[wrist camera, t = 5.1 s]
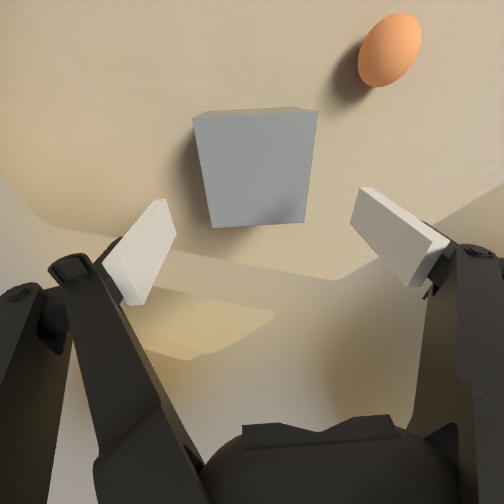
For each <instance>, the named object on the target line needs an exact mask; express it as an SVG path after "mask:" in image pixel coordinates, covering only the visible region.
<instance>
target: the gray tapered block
mask: <svg viewBox="0 0 504 504" xmlns="http://www.w3.org/2000/svg"><path fill="white" fill-rule="evenodd" d="M317 116H318V111H313V110H308V109H302V108H297V107H286V108H267V109H249V110H230V111H212V112H205V113H202V114H200V115H198V116H196V117H194V118H192V121H193V127H194V132H195V138H196V143H197V149H198V154H199V159H200V165H201V170H202V176H203V181H204V187H205V192H206V198H207V203H208V209H209V214H210V220H211V225H212V228H224V227H241V226H257V225H274V224H290V223H304V220H305V212H306V204H307V196H308V188H309V180H310V172H311V164H312V156H313V148H314V140H315V132H316V124H317Z"/></svg>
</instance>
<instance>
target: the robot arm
mask: <svg viewBox="0 0 504 504" xmlns="http://www.w3.org/2000/svg"><path fill="white" fill-rule="evenodd" d="M350 224H351V225H352V226H353V228H354V229H355V230H356V231H357V232H358V233H359V234H360V236H361V237H362V238H363V239H364V240H365V241H366V242H367V243H368V245H369V246H370V247H371V248H372V249H373V250H374V251H375V253H376V254H377V255H378V256H379V257H380V258H381V259H382V260H383V262H384V263H385V264H386V265H387V266H388V267H389V268H390V270H391V271H392V272H393V273H394V274H395V275H396V276H397V277H398V278H399V280H400V281H401V282H402V283H403V284H404V285H405V287H420V286H422V285H423V283H424V282H425V280H426V278H427V277H428V278H429V279H430V280H431V281H432V282H433V283H432V285H431V286H430V288H429V289H428V291H427V292H426V294H425V295H424V297H423V298H422V299H424V300H425V299H426V298H427V297H428V301H427V309H426V317H425V325H424V332H423V340H422V348H421V356H420V364H419V372H418V379H417V387H416V395H415V403H414V410H413V415H412V418H411V420H410V422H409V424H408V426H407V428H406V430H405V429H402V428H400V427H397V426H394V424H393V422H392V419H391V417H390V415H389V414H387V415H374V416H361V417H353V418H350V419H348V420H346V421H344V422H342V423H340V424H337V425H335V426H333V427H331V428H329V429H326V430H324V431H322V432H314V431H310V430H306V429H302V428H298V427H293V426H290V425H286V424H282V423H267V424H252V425H242V435H239V436H237V437H235V438H233V439H232V440H230V441H229V442H227V443H226V444H224V445H223V446H222V447H221V448H220V449H219V450H218V451H217V452H216V453H215V454H214V455H213V456H212V457H211V458H210V460H209V461H208V462H207V464H206V465H205V464H204V461H203V460H202V458H201V456H200V454H199V452H198V451H197V449H196V447H195V445H194V443H193V442H192V440H191V439H190V437H189V435H188V433H187V432H186V430H185V428H184V426H183V424H182V422H181V420H180V419H179V417H178V415H177V413H176V411H175V409H174V407H173V405H172V403H171V401H170V399H169V397H168V395H167V394H166V392H165V390H164V388H163V386H162V384H161V382H160V380H159V378H158V376H157V374H156V373H155V371H154V369H153V367H152V365H151V363H150V361H149V359H148V357H147V355H146V353H145V352H144V350H143V348H142V346H141V344H140V342H139V340H138V338H137V336H136V334H135V332H134V331H133V329H132V327H131V325H130V323H129V321H128V319H127V317H126V315H125V313H124V311H123V309H122V308H121V306H120V305H119V304H120V303H121V301H122V299H123V298H124V300H125V301H126V303H127V305H128V306H133V305H144V303H145V301H146V299H147V297H148V295H149V293H150V290H151V288H152V286H153V284H154V282H155V280H156V277H157V275H158V273H159V271H160V269H161V267H162V264H163V262H164V260H165V258H166V256H167V254H168V252H169V249H170V247H171V245H172V243H173V241H174V239H175V237H176V231H175V227H174V224H173V221H172V218H171V214H170V211H169V208H168V204H167V201H166V199H160V200H154V201H153V202H152V203H151V205H150V206H149V207H148V208H147V209H146V211H145V212H144V213H143V214H142V215H141V216H140V218H139V219H138V220H137V221H136V222H135V224H134V225H133V226H132V227H131V228H130V230H129V231H128V232H127V233H126V234H125V236H124V237H119V238H118V239H116V240H115V241H114V242H112V243H111V244H110V245H109V246H108V248H107V249H106V250H105V251H104V252H103V254H102V255H100V257H99V258H98V259H97V260H96V261H95V262H94V263H93V264H92V262H91V261H90V259H89V257H88V256H87V255H86V254H83V253H77V254H71V255H68V256H65V257H63V258H60V259H58V260H57V261H55V262H54V263H52V264H51V265H50V266H49V268H48V272H49V273H50V275H51V276H52V277H53V278H54V279H55V280H56V282H57V283H58V284H59V285H60V286H57V287H53V288H49V289H45V290H44V289H42V287H41V286H40V285H39V284H37V283H32V282H31V283H25V284H22V285H19V286H15V287H13V288H12V289H9V290H7V291H6V292H5V293H4V294H2V295H1V296H0V504H47V499H48V493H49V487H50V480H51V474H52V468H53V461H54V455H55V449H56V442H57V436H58V430H59V423H60V417H61V411H62V405H63V398H64V392H65V385H66V379H67V373H68V366H69V360H70V354H71V348H72V342H73V341H74V345H75V349H76V353H77V358H78V362H79V366H80V370H81V374H82V379H83V383H84V387H85V391H86V395H87V399H88V404H89V408H90V412H91V416H92V420H93V424H94V429H95V433H96V437H97V441H98V446H99V456H98V457H97V458H96V460H95V461H94V464H93V478H94V485H95V491H96V495H97V500H98V504H504V258H498V257H497V256H496V255H495V254H494V253H493V252H491V251H490V250H487V249H485V248H483V247H480V246H477V245H472V244H460V245H459V244H457V243H456V242H454V241H453V240H451V239H450V238H448V237H447V236H445V235H444V234H442V233H441V232H439V231H438V230H436V229H435V228H433V227H432V226H430V225H429V224H427V223H426V222H424V221H421V220H419V219H417V218H416V217H414V216H413V215H412V214H410V213H409V212H407V211H406V210H404V209H403V208H401V207H400V206H398V205H397V204H395V203H394V202H392V201H391V200H389V199H388V198H386V197H385V196H383V195H382V194H380V193H379V192H377V191H376V190H374V189H373V188H372V187H362V188H359V191H358V195H357V199H356V203H355V206H354V210H353V214H352V217H351V221H350Z"/></svg>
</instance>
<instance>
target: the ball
mask: <svg viewBox="0 0 504 504" xmlns="http://www.w3.org/2000/svg"><path fill="white" fill-rule="evenodd" d="M420 44H421V28H420V25H419V23H418V21H417V20H416V19H415V18H414V17H413V16H412V15H410V14H406V13H396V14H393V15H390V16H388V17H386V18H384V19H383V20H381V21H380V22H379V23H378V24H376V25H375V26H374V27H373V29H372V30H371V31H370V32H369V33H368V35H367V36H366V38H365V40H364V42H363V44H362V46H361V48H360V51H359V55H358V72H359V75H360V77H361V79H362V80H363V81H364V82H365V83H366V84H367V85H369V86H372V87H383V86H386V85H389V84H391V83H393V82H395V81H396V80H398V79H399V78H400V77H401V76H402V75H404V74H405V72H406V71H407V70H408V69H409V68H410V66H411V65H412V63H413V62H414V60H415V58H416V56H417V54H418V51H419V48H420Z"/></svg>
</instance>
